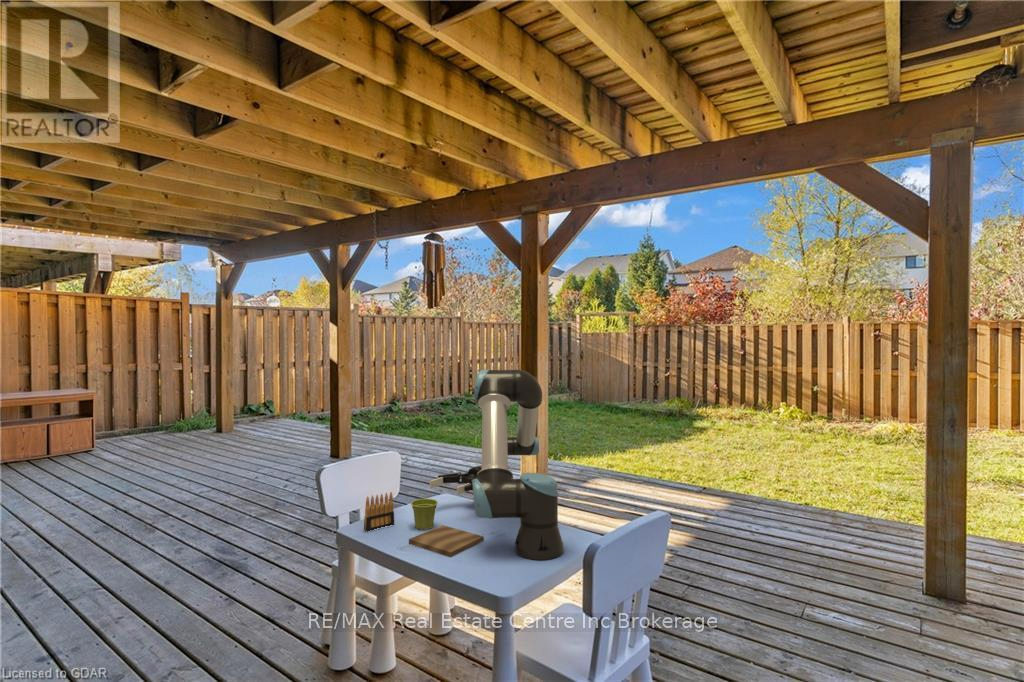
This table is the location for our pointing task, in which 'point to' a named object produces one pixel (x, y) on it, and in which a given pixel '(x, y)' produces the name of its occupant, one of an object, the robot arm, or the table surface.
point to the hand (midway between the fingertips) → (443, 487)
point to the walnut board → (446, 540)
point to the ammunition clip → (378, 513)
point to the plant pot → (424, 513)
